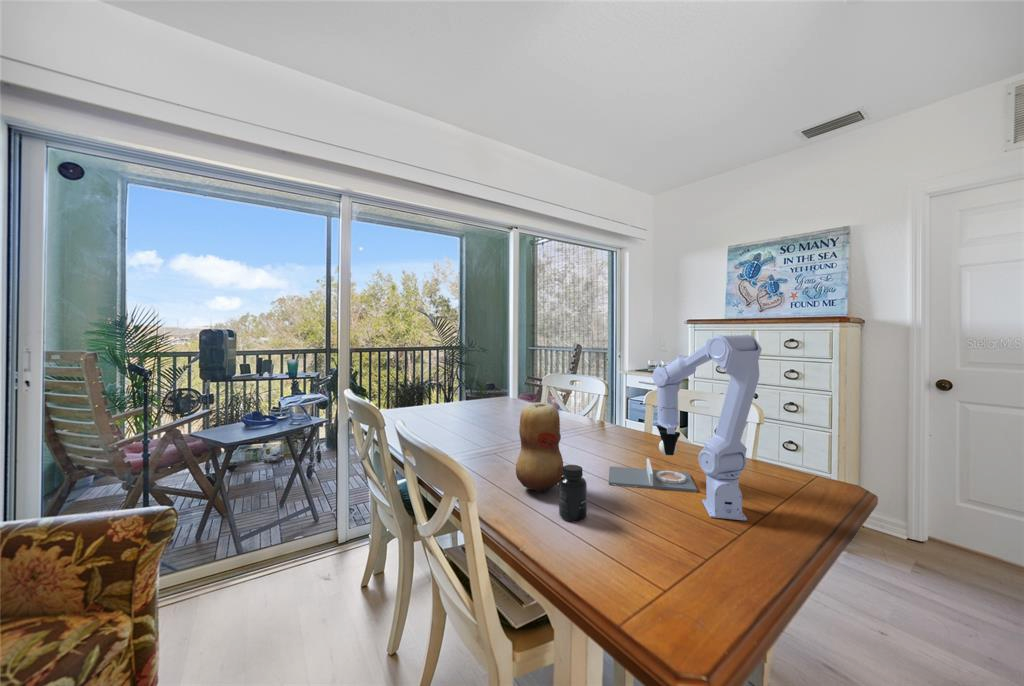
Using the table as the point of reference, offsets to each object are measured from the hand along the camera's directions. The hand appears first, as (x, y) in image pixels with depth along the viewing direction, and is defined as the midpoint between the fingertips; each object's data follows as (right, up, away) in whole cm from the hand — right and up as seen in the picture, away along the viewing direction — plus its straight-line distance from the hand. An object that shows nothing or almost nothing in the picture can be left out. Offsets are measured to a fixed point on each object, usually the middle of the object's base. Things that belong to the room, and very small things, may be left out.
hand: (668, 452), depth 115 cm
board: (-5, -9, +2) cm, 10 cm away
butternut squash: (-39, -10, -4) cm, 40 cm away
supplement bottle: (-32, -10, -21) cm, 39 cm away
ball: (0, +1, 0) cm, 2 cm away
